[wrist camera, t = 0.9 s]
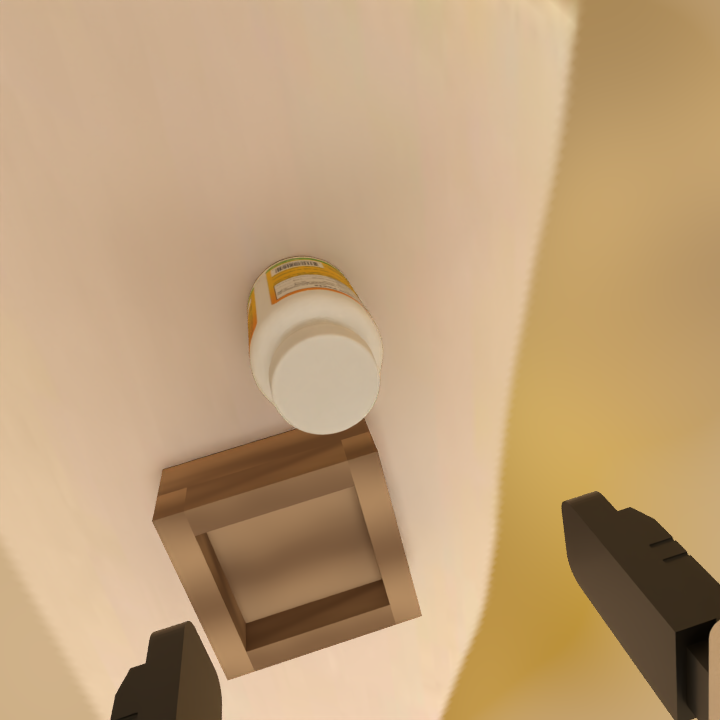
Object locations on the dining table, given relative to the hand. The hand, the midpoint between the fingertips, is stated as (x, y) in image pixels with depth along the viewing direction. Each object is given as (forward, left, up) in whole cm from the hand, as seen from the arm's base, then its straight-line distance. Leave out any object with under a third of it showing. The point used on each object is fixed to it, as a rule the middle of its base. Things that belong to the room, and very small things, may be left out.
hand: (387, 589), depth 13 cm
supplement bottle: (0, 0, -20) cm, 20 cm away
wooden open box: (+12, -4, -20) cm, 24 cm away
